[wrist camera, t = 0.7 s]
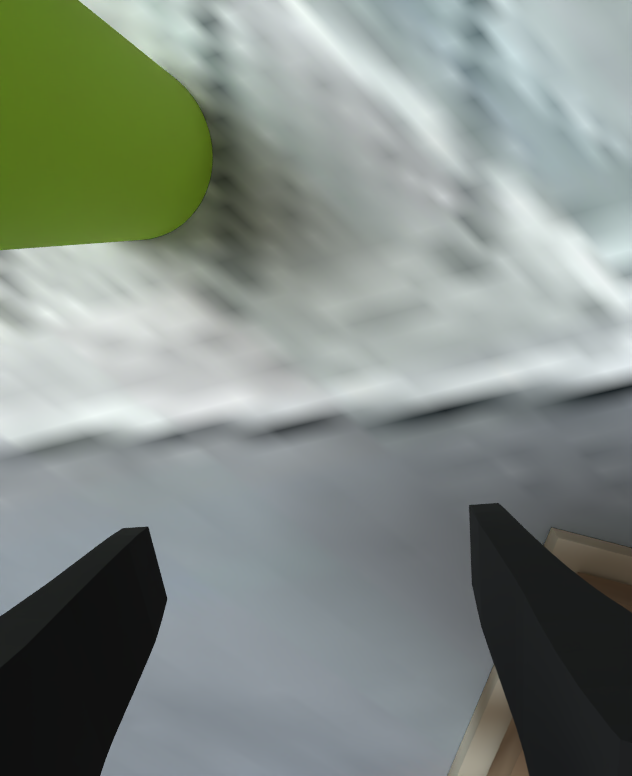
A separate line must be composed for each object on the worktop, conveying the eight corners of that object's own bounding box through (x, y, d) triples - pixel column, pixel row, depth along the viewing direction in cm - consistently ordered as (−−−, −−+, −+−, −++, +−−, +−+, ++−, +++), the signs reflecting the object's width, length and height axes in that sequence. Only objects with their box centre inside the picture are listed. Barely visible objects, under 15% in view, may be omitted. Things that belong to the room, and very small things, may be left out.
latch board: (685, 923, 28) (694, 942, 28) (414, 854, 28) (416, 872, 28) (885, 613, 23) (904, 627, 22) (551, 527, 23) (557, 537, 22)
